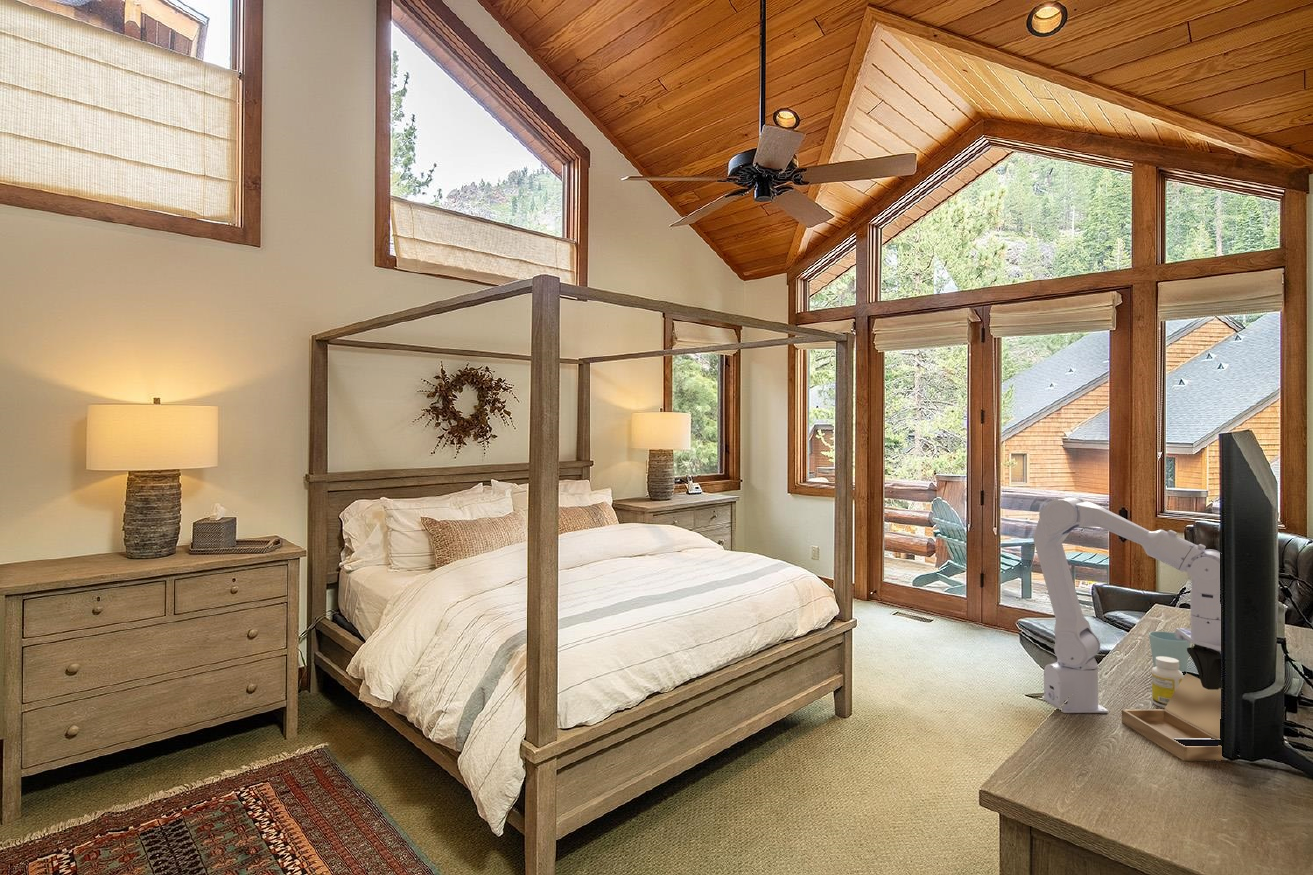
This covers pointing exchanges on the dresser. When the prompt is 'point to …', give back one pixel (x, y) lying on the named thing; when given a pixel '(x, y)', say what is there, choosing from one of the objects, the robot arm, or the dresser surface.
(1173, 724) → the carton
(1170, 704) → the lid flap
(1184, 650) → the cup
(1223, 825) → the dresser surface
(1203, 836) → the dresser surface
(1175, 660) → the supplement bottle
